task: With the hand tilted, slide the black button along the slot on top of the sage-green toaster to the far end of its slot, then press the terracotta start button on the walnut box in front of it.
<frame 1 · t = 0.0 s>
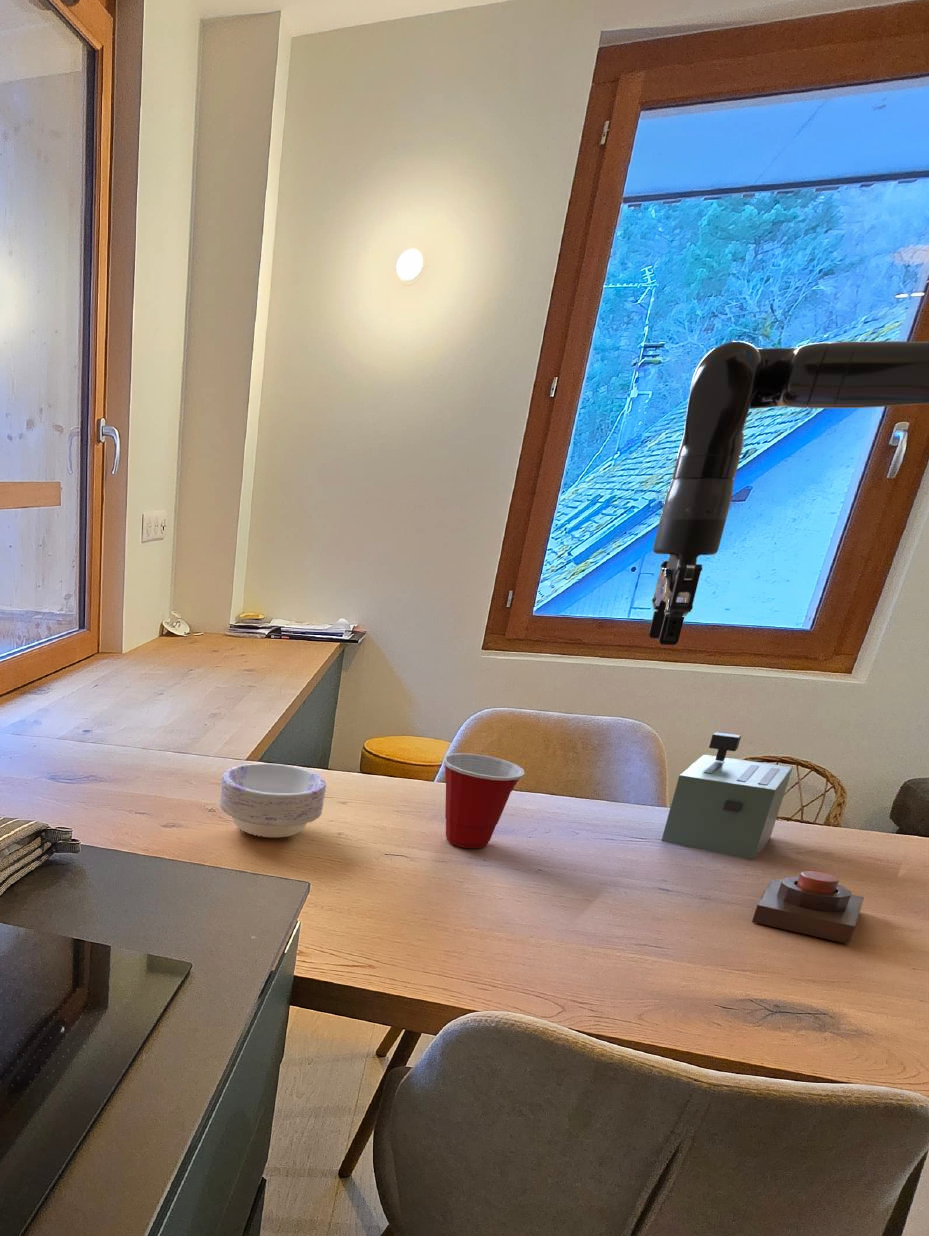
hand: (661, 641, 131), 28 cm above the table, tool pointing down, fingers open, 8 cm apart
toaster: (715, 844, 136), on the table
start button: (817, 883, 109), point 4 cm above the table, slide at 0.1 cm
toaster slider: (723, 747, 135), point 13 cm above the table, slide at 0.0 cm
plastic cup: (468, 842, 136), on the table
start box: (805, 917, 111), on the table
paper bowls: (268, 828, 141), on the table
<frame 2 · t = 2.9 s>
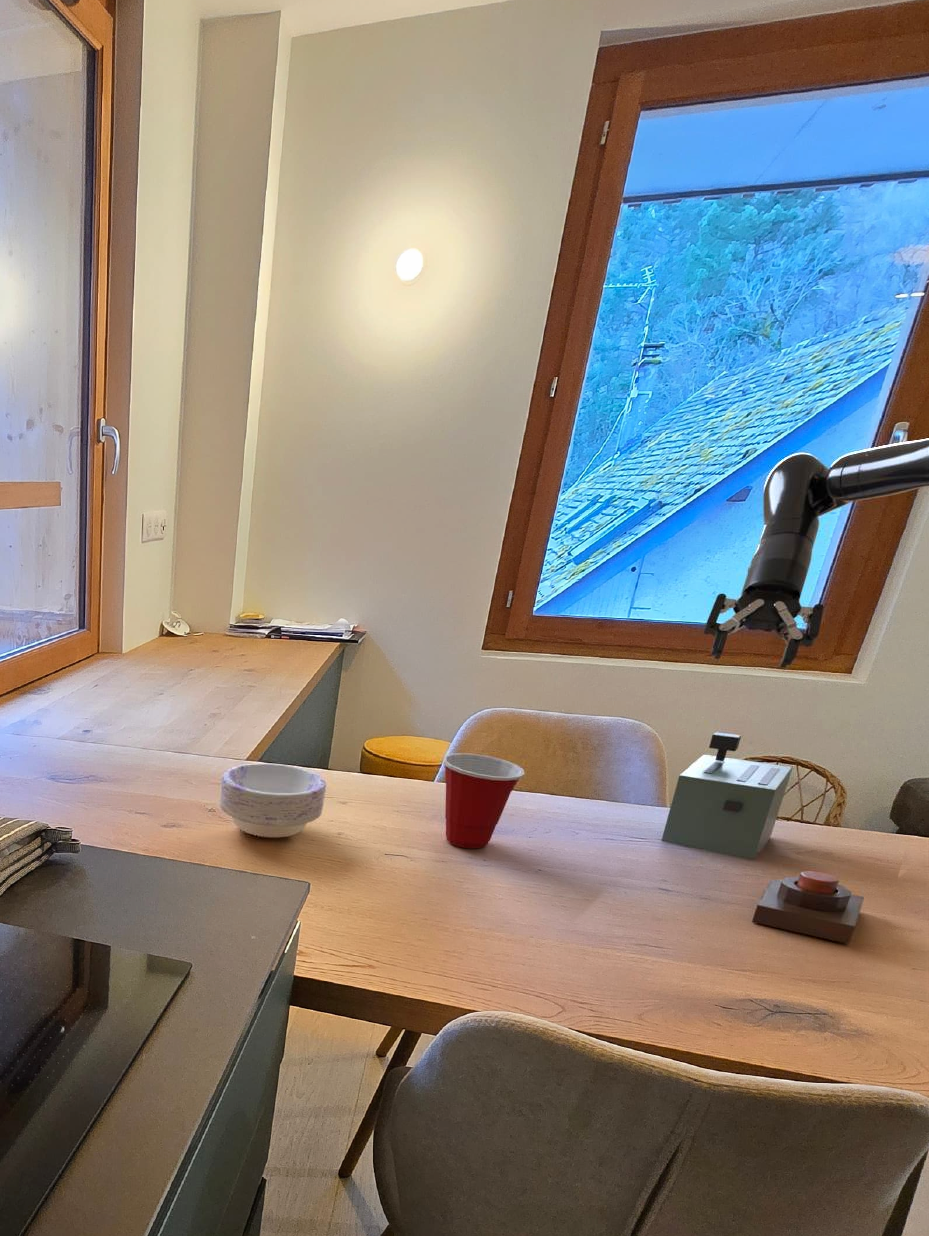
hand: (750, 660, 142), 24 cm above the table, tool tilted 40°, fingers open, 8 cm apart
nothing on the table moved.
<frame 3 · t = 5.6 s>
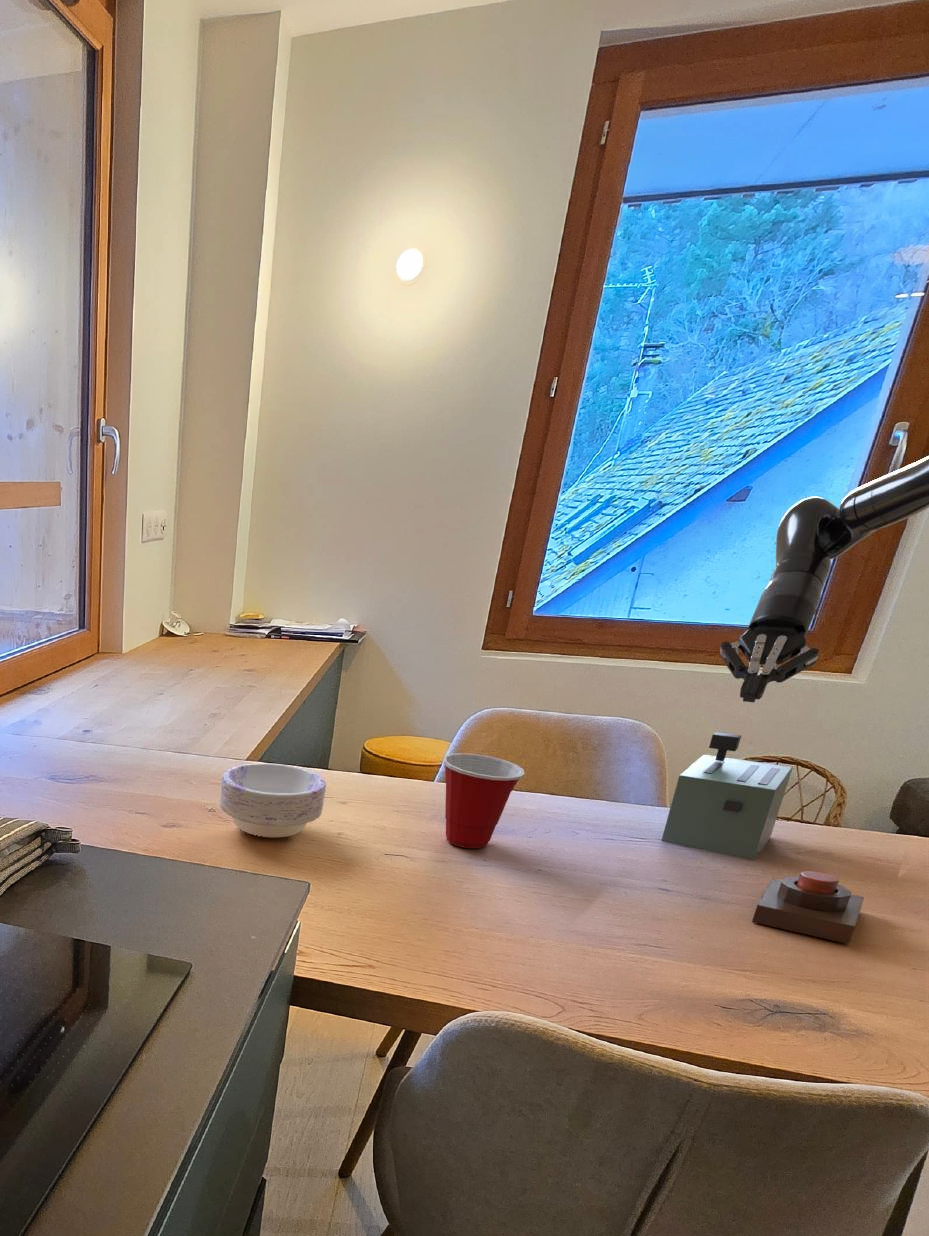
hand: (749, 698, 141), 19 cm above the table, tool tilted 45°, fingers closed
nothing on the table moved.
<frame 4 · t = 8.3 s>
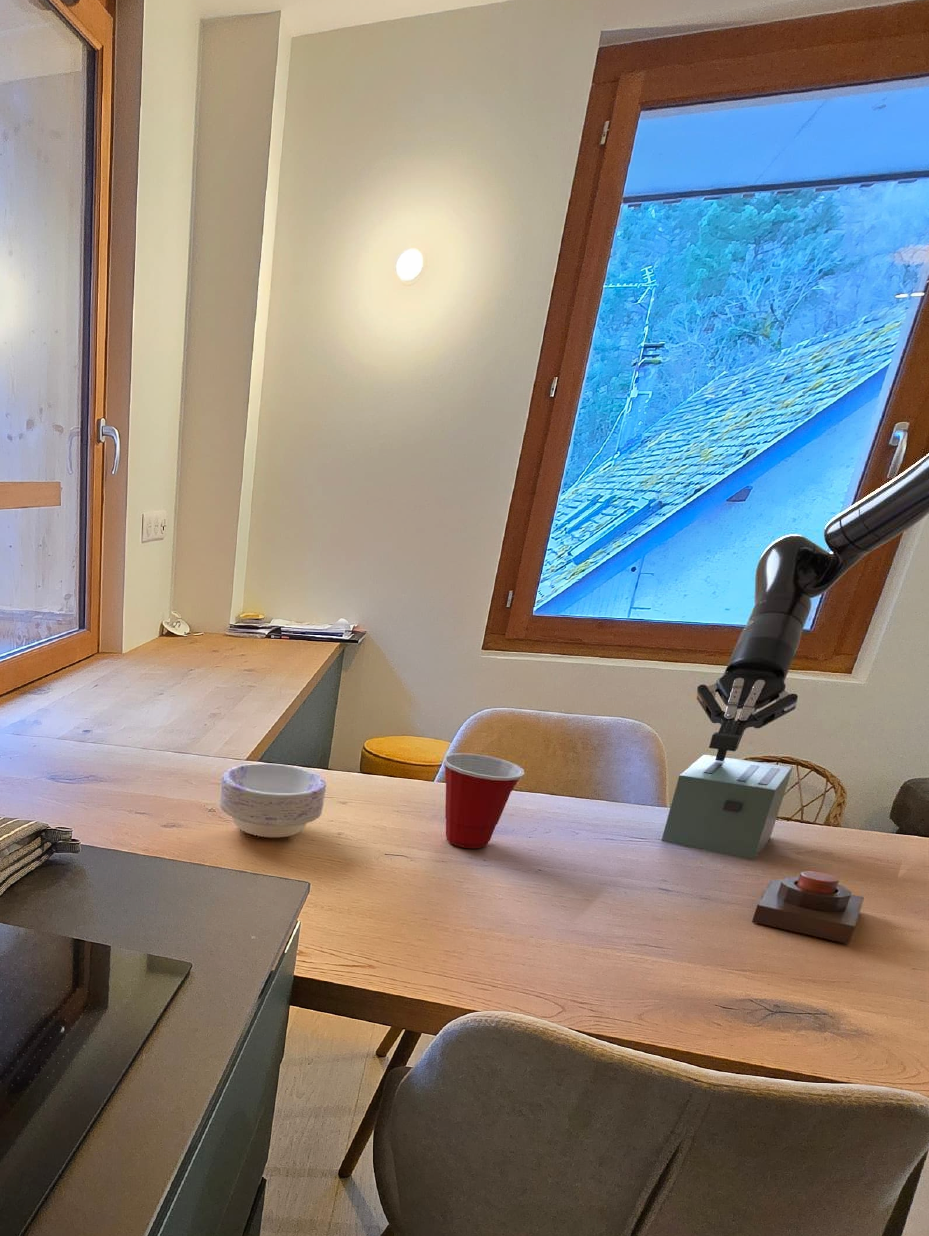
hand: (725, 745, 136), 13 cm above the table, tool tilted 45°, fingers closed
toaster slider: (723, 747, 135), point 13 cm above the table, slide at 0.0 cm, touching gripper
everything else where it was.
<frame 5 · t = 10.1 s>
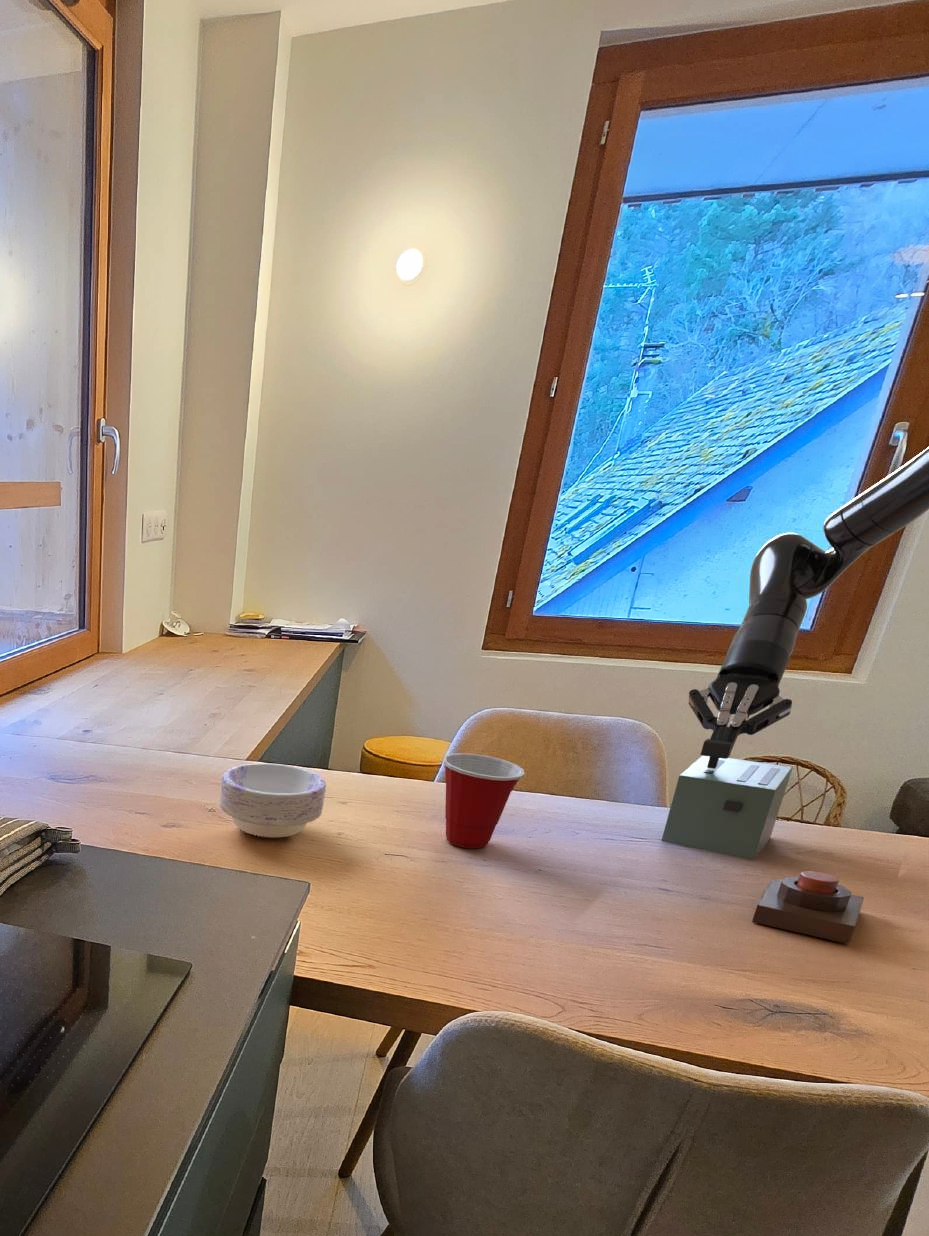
hand: (717, 752, 132), 13 cm above the table, tool tilted 45°, fingers closed
toaster slider: (715, 754, 131), point 13 cm above the table, slide at 6.2 cm, touching gripper
everything else where it was.
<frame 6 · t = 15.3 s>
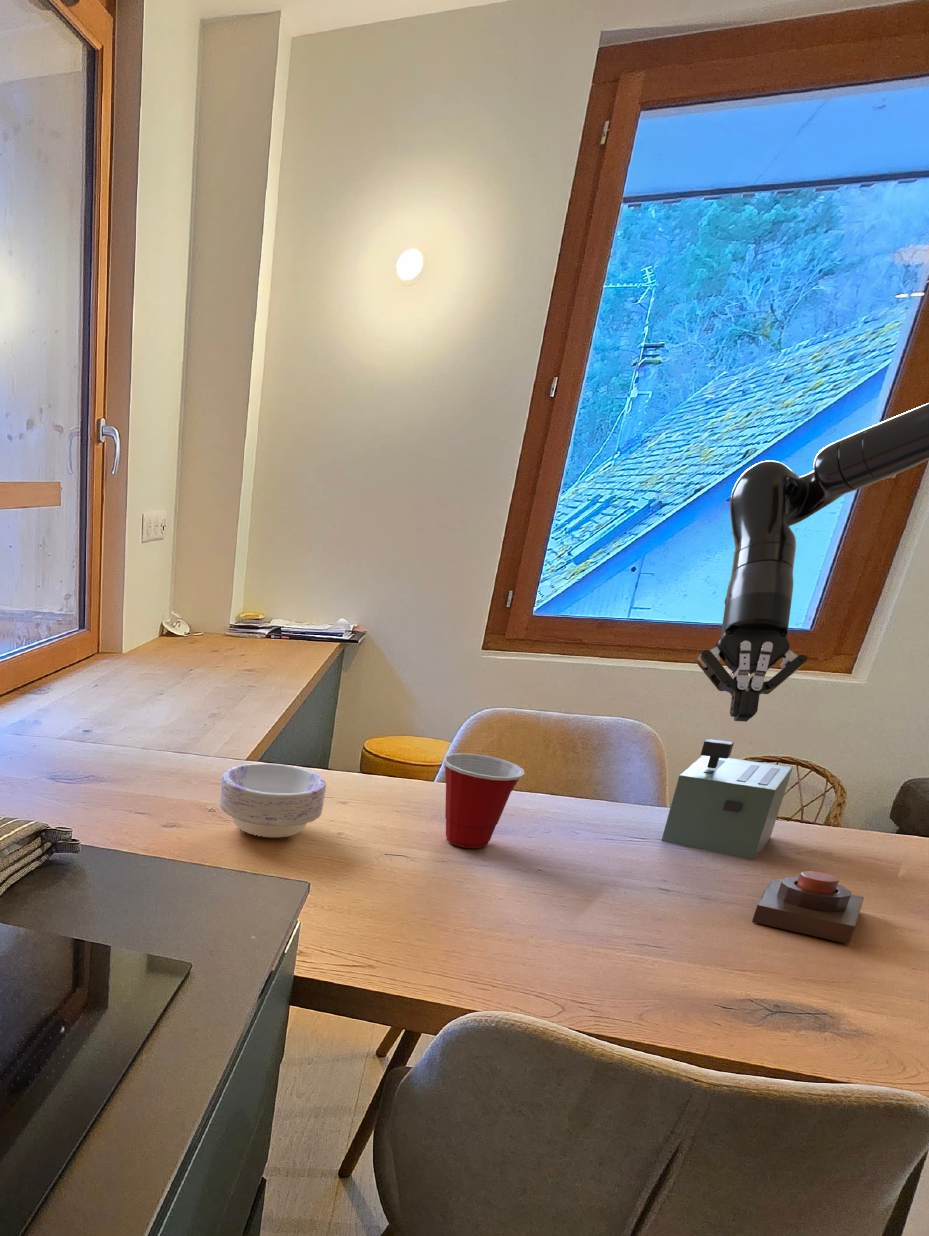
hand: (742, 719, 129), 18 cm above the table, tool tilted 30°, fingers closed
toaster slider: (715, 754, 131), point 13 cm above the table, slide at 6.1 cm
everything else where it was.
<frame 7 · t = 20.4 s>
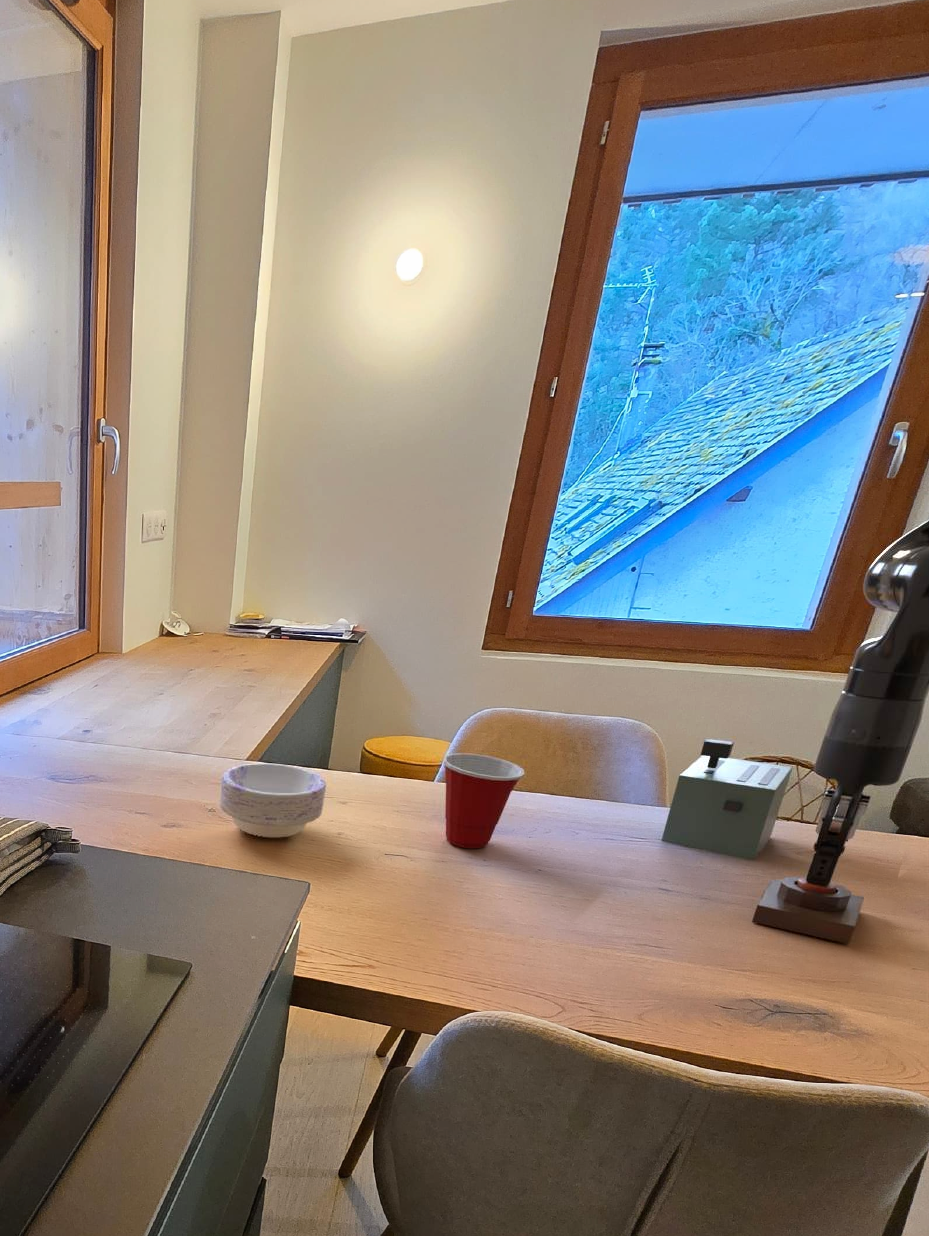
hand: (817, 882, 109), 5 cm above the table, tool pointing down, fingers closed
start button: (815, 889, 109), point 4 cm above the table, slide at -0.7 cm, touching gripper
everything else where it was.
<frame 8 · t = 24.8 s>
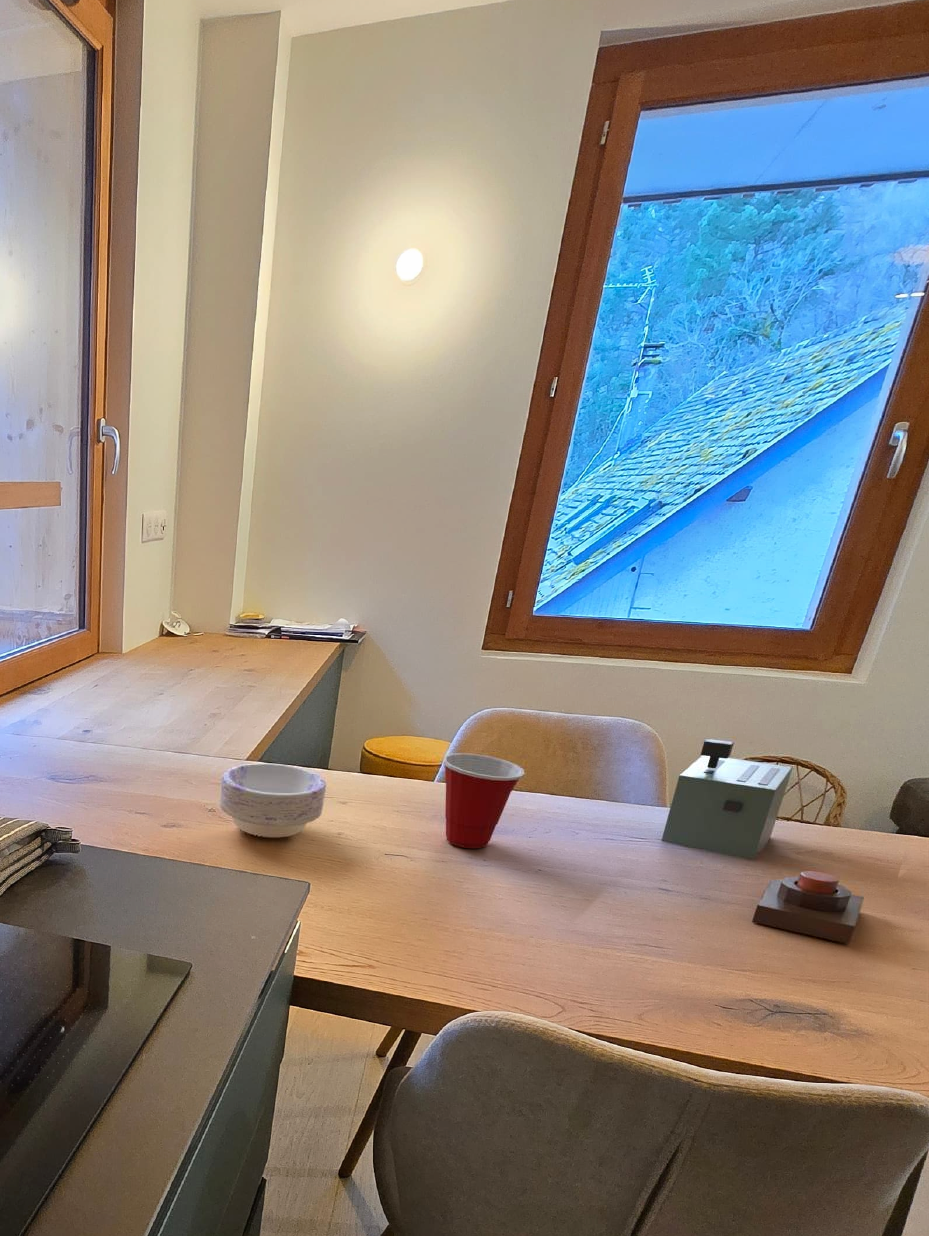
start button: (817, 883, 109), point 4 cm above the table, slide at 0.1 cm
everything else where it was.
at the end: toaster slider slide at 6.1 cm; start button pushed in 1.1 cm at the most during the clip, back to where it started at the end; start button slide at 0.1 cm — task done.
